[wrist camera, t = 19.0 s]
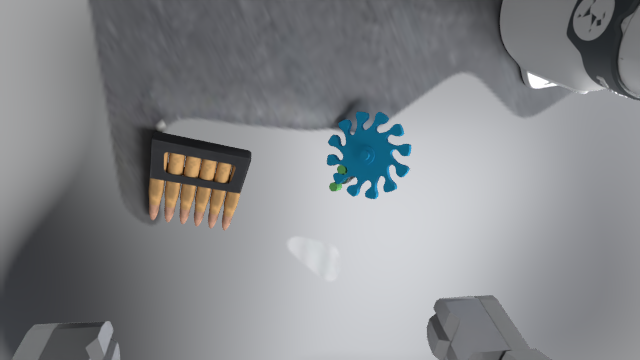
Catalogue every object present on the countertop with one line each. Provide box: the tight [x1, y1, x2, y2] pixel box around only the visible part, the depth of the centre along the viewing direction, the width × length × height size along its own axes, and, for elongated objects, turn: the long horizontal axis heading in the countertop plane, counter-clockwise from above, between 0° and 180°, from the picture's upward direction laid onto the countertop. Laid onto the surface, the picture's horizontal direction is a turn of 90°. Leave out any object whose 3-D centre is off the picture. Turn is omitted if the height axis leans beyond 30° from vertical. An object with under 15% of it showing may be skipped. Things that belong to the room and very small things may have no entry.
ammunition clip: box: [149, 131, 251, 230], centre depth 46 cm, size 11×2×12 cm
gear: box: [327, 112, 411, 199], centre depth 45 cm, size 11×6×10 cm
